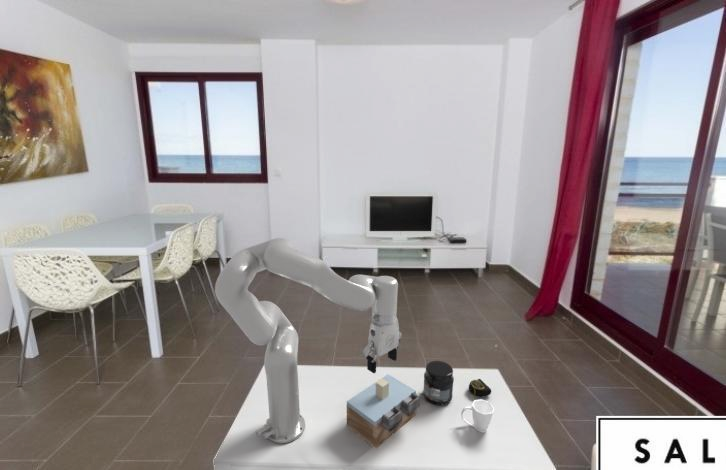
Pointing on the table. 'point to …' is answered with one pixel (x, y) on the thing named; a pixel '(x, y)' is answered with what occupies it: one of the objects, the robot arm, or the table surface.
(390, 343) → the robot arm
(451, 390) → the supplement container
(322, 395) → the table surface
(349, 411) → the cabinet
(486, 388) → the tape measure
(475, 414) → the cup
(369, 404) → the door
